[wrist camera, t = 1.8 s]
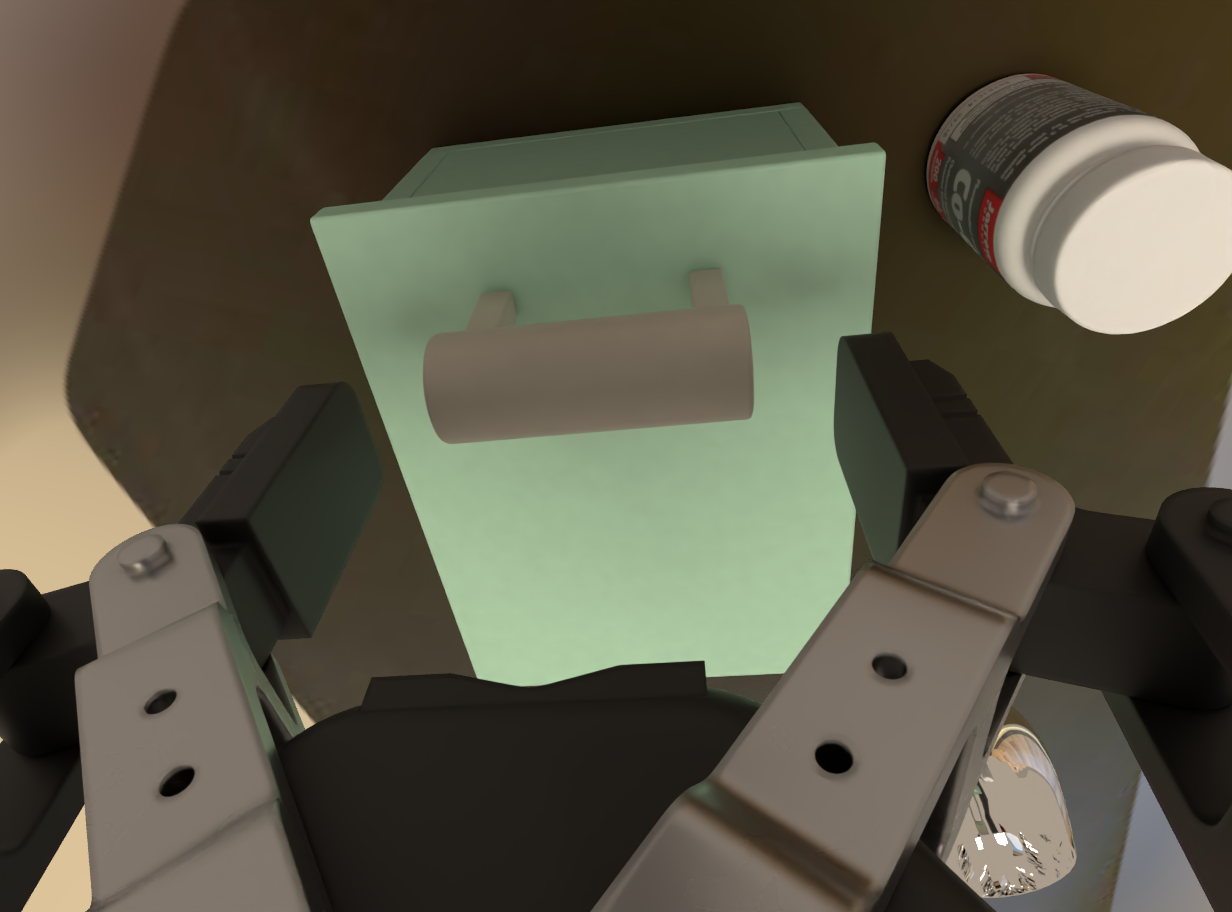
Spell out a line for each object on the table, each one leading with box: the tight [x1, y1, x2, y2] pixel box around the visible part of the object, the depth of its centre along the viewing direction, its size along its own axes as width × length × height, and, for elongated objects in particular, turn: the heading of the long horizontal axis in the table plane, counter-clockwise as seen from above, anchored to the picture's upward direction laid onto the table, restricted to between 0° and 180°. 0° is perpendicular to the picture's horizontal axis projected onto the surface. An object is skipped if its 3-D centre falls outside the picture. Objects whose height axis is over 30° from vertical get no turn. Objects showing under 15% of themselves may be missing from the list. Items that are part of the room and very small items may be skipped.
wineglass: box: [946, 706, 1076, 898], centre depth 30 cm, size 6×6×12 cm
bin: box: [382, 102, 838, 201], centre depth 24 cm, size 15×12×9 cm
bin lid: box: [310, 143, 886, 686], centre depth 18 cm, size 16×12×5 cm
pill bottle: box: [927, 74, 1232, 334], centre depth 20 cm, size 5×5×8 cm
